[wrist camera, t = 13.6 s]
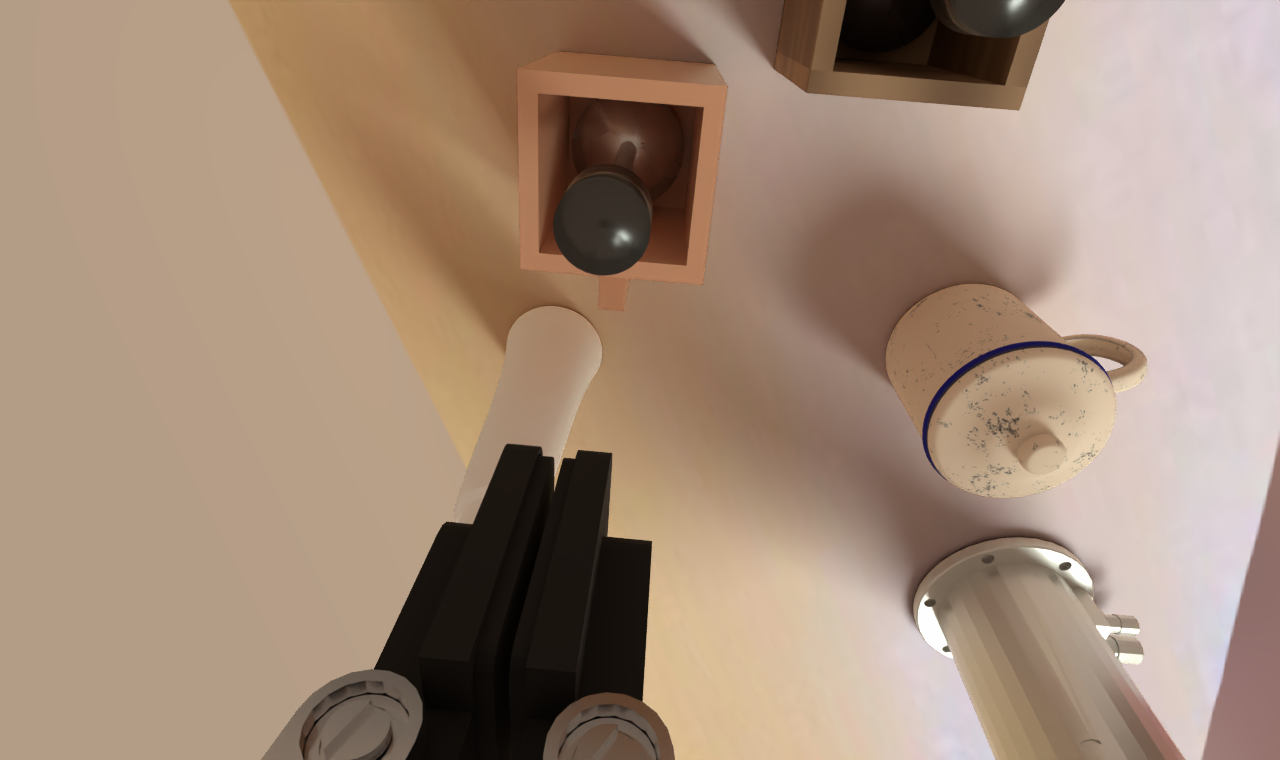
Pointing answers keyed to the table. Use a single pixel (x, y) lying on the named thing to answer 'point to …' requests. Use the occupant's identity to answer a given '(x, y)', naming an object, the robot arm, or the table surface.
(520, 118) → the square planter pot
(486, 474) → the cosmetic bottle
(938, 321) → the teacup with lid
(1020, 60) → the wooden handled box
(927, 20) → the dark metallic plunger
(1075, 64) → the table surface
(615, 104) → the black knobbed plunger
